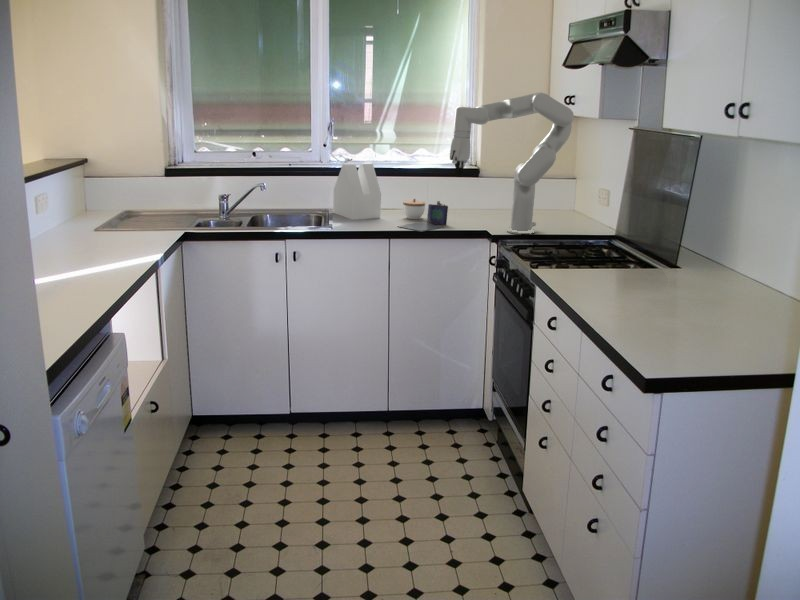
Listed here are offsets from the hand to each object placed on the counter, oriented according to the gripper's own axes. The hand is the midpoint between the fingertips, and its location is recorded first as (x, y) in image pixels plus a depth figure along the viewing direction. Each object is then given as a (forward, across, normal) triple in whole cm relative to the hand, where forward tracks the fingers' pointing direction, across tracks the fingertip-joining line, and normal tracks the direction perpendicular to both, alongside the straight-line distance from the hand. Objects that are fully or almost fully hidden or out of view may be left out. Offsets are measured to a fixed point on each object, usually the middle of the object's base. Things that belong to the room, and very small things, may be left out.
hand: (458, 176), depth 366 cm
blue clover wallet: (+24, -3, -12) cm, 28 cm away
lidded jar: (+25, -7, -29) cm, 39 cm away
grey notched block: (+25, +9, -52) cm, 59 cm away
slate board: (+24, +8, -13) cm, 29 cm away
